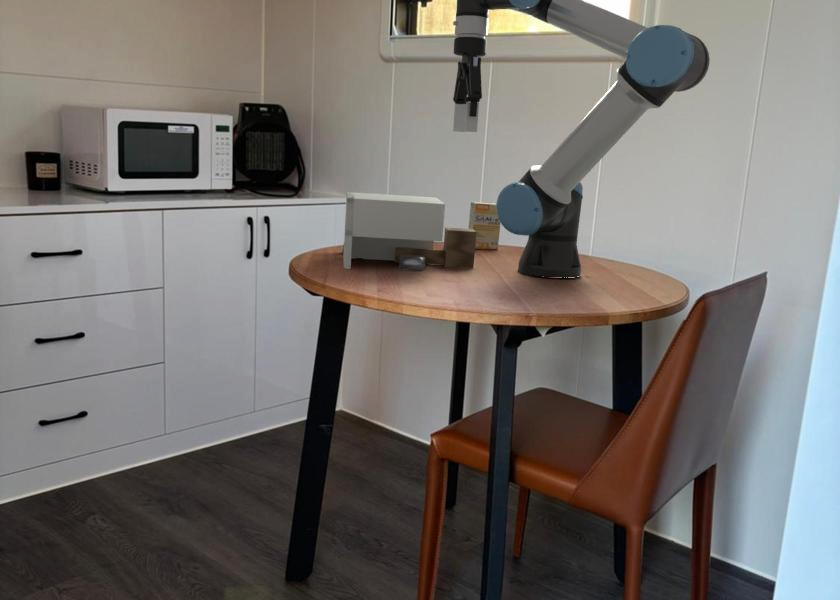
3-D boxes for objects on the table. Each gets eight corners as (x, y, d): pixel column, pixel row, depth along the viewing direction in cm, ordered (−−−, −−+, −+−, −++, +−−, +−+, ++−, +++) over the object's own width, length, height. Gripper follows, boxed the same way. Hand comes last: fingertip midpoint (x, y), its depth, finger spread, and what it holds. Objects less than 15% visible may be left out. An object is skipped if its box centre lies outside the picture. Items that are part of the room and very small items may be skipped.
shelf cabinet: (431, 261, 199) (436, 197, 195) (439, 273, 183) (445, 204, 180) (343, 257, 196) (346, 191, 193) (343, 268, 181) (347, 198, 177)
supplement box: (470, 249, 225) (474, 202, 222) (466, 246, 230) (470, 201, 227) (498, 250, 227) (503, 204, 224) (493, 247, 231) (497, 202, 229)
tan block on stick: (470, 264, 199) (473, 229, 197) (473, 268, 194) (476, 231, 192) (394, 260, 196) (396, 224, 194) (395, 264, 191) (398, 227, 190)
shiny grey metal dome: (423, 267, 191) (423, 255, 190) (425, 272, 185) (426, 259, 184) (398, 266, 190) (398, 253, 189) (400, 270, 184) (400, 258, 184)
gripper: (444, 42, 195) (439, 130, 199) (466, 29, 170) (459, 130, 175) (474, 44, 196) (469, 132, 200) (500, 32, 172) (492, 132, 176)
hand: (464, 131), depth 187 cm, fingers open, 13 cm apart
